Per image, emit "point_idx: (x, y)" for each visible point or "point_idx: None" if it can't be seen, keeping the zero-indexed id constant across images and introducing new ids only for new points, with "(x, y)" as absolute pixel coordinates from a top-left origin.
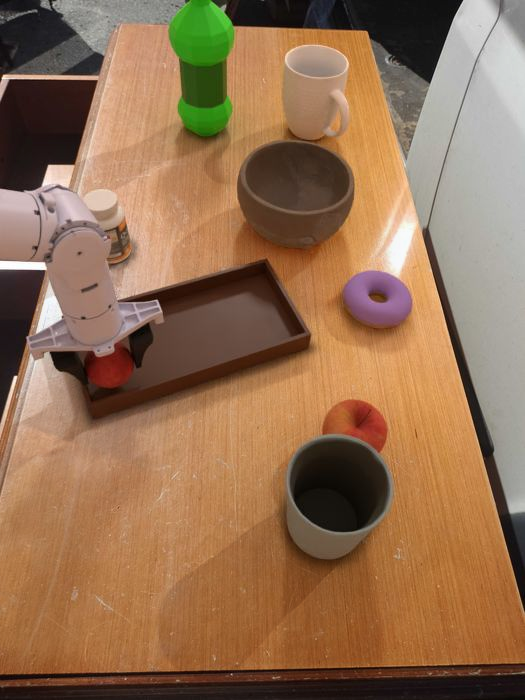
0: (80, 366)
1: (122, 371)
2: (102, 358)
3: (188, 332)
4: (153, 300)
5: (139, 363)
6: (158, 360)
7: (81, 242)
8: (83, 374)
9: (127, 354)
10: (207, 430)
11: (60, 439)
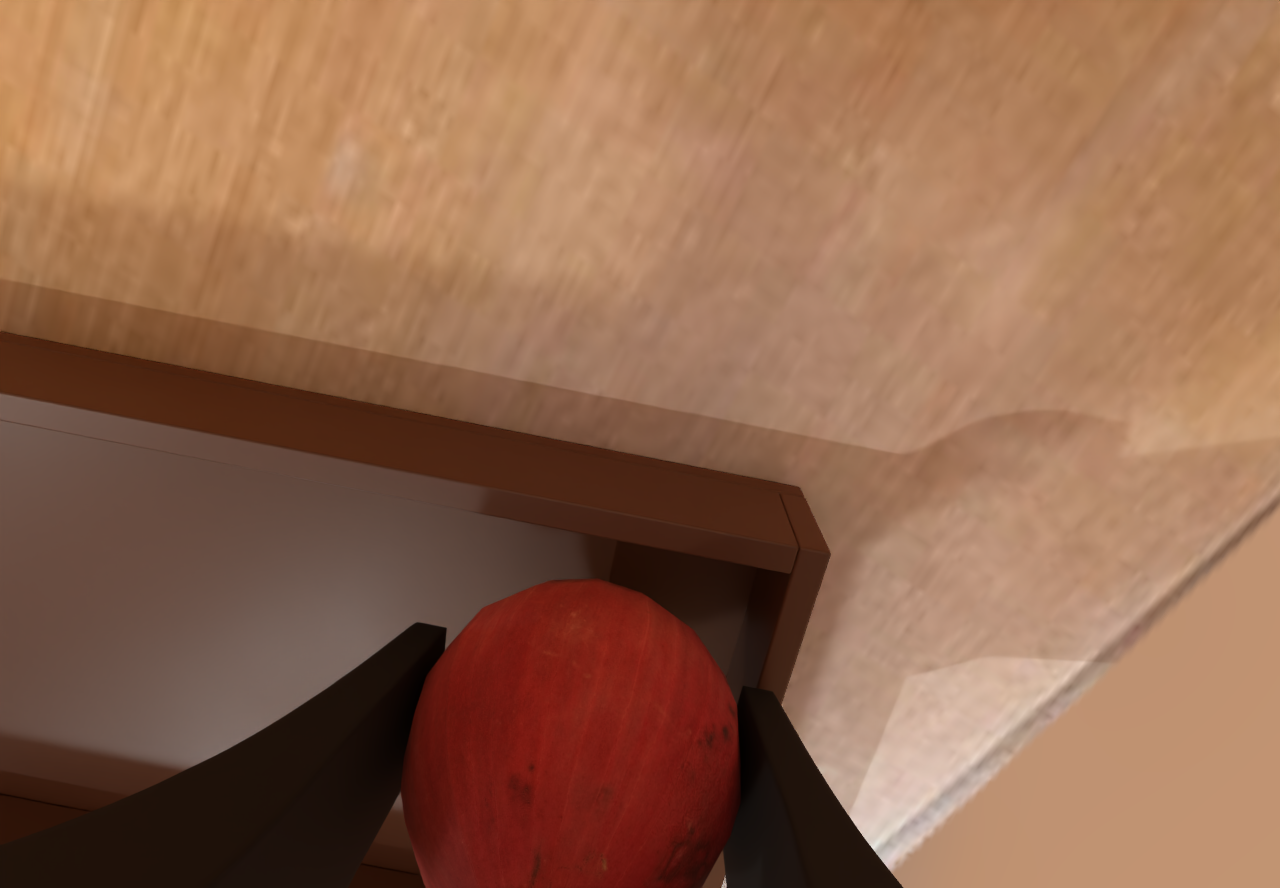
0: (775, 875)
1: (508, 671)
2: (590, 877)
3: (164, 658)
4: None
5: (391, 654)
6: (356, 603)
7: None
8: (780, 797)
9: (412, 772)
10: (260, 59)
11: (994, 476)
